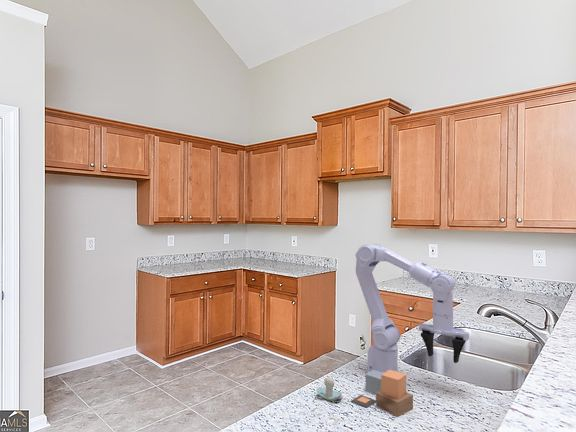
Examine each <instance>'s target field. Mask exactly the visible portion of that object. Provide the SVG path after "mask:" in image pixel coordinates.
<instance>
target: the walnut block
mask: <svg viewBox="0 0 576 432" xmlns="http://www.w3.org/2000/svg"><path fill="white" fill-rule="evenodd" d="M375 400H376V402H375V406H376V407H377V408H379V409H381V410H383V411H385V412H387V413H389V414H391V415H393V416H395V417H397V418H399V417H400V416H402V415H404V414H406V413H408V412H411V411H412V410H413V409H414V394H412V393H410V392H408V391H406V393H405V394H404V395H403V396H402V397H401V398H399V399H397V398H394V397H391V396H388V395H385V394H382V393H381V391H379V392H377V393H376V395H375Z"/></svg>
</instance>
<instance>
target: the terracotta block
mask: <svg viewBox="0 0 576 432" xmlns="http://www.w3.org/2000/svg"><path fill="white" fill-rule="evenodd" d="M400 372H401V371H398V372H396V371H392V370H388V371H386V372H385V373H383V374H382V375H381V393H382V394H385V395H388V396H391V397H394V398H397V399H399V398H401V397H402V396H403V395H404V394H405V393H406V392H407V374H406V373H403V372H402V373H400Z"/></svg>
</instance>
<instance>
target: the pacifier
mask: <svg viewBox="0 0 576 432" xmlns="http://www.w3.org/2000/svg"><path fill="white" fill-rule="evenodd" d="M323 382H324V386H325V387H322V386H320V387H319V386H318V388H316V392H317V394H318V395H319V396H320V397H322V398H323V399H324V400H327V401H329V402H330V401H331V402H334V401H337V400H342V398H343V393H342V391H336V390H334V387H335V382H334V380H333V378H331V377H325V379H324V381H323Z"/></svg>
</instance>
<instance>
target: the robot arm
mask: <svg viewBox="0 0 576 432" xmlns="http://www.w3.org/2000/svg"><path fill="white" fill-rule="evenodd" d="M354 256H355V258H356V259H355V260H356V263H355V275H356V278H357V281H358V283H359V286H360V289H361V292H362V295H363V297H364V299H365V303H366V305H367V309H368V311H369V314H370V317H371V320H372V323H371V324H372V325H371V329H370V330H371V333H372V344H371V345H370V346H369V348H368V349H367V350H368V351H367V370H366V373H365V374H367V373H369V372H371V371H373V370H376V371H379V372H383V373H385V372H386V371H388V370H392V371H396V372H400V373H403V372H402V371H398V366H399V363H398V362H399V360H398V356H399V355H398V350H399V349H398V342H400V339H401V332H400V330H399V328H397V327H396V324H395V323H394V321H393V319H391V318H390V317H389V316H388V313H387V309H386V308H385V305H384V302H383V300H382V296H381V293H380V291H379V289H378V286H377V283H376V280H375V277H374V274H373V272H374V270H375V268H376V266H377V265H378V264H379V263H380V262H387V263H390V264H392V265H394V266H396V267H398V268H400V269H402V270H403V271H406V272H408V274H409V276H410V278H411V279H413V280H414V281H416V282H418V283H421V284H422V285H424V286H426V287H428V288H430V290H431V292H432V324H430V323H429V324H427V323H418V331H420V332H421V333H420V337H421V338H422V341H423V343H424V345H425V347H426V351H427V356H428V357H432V356H433V355H434V339H435V334H438V335H441V336H446V337H452V338H453V339H452V340H451V341H452V342H451V343H452V347H453V349H452V350H453V363H455V364H457V363H459V361H460V356H461V353H462V350H463V347H464V345H465V344H466V342H467V341H469V340H470V332H467V331H464V330H460V329H456V328H454V299H453V298H454V297H453V296H454V294H453V290H454V289H455V279H454V278H453V276H451V275H449V274H448V273H446V272H445V273H442V271H441V270H439V269H437V270H436V269H434V268H432V267H430V266H428V265H427V264H428V263H427V262H425V261H423V262H420V261H418V262H413V261H410V260H409V259H407V258H405V257H404V256H402V255H400V254H398V253H396V252H395V251H393V250H391V249H390V248H388V247H386V246H382V245H380V244H377V243H374V244H362V245H361V246H359V247H358V250H357V251H356V252H355V255H354Z"/></svg>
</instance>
